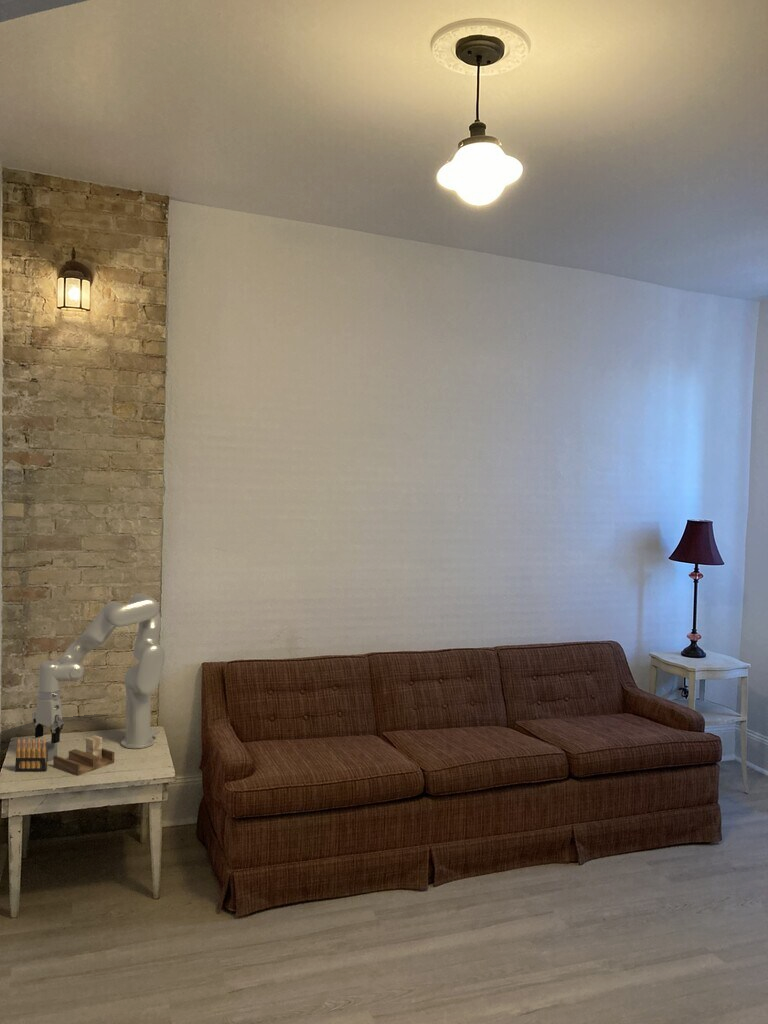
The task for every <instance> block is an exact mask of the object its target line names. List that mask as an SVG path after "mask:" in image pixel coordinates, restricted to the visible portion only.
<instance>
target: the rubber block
mask: <svg viewBox="0 0 768 1024" xmlns="http://www.w3.org/2000/svg"><path fill="white" fill-rule="evenodd" d="M55 755H56V756H58V743H54V744H52V743H51V740H49V741H46V756H47V763H48V762H51V761H53V756H55ZM41 756H42V743H41Z"/></svg>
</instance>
